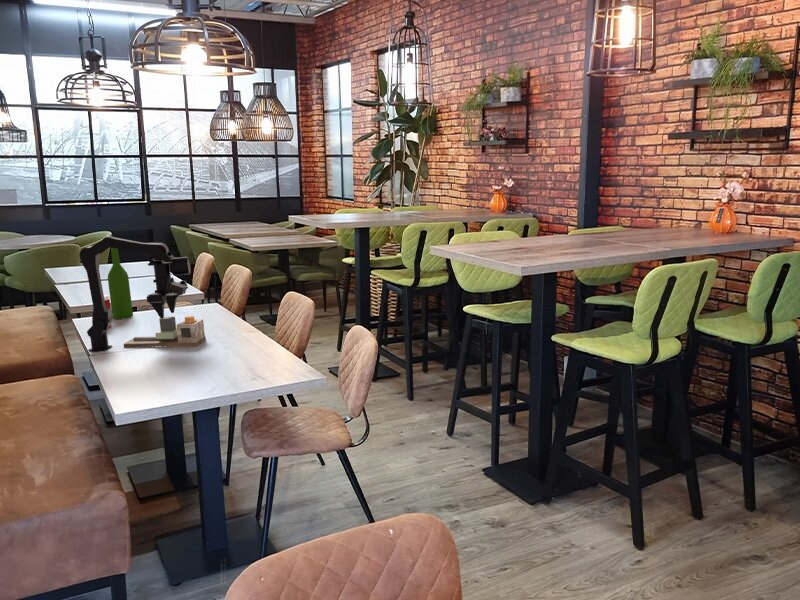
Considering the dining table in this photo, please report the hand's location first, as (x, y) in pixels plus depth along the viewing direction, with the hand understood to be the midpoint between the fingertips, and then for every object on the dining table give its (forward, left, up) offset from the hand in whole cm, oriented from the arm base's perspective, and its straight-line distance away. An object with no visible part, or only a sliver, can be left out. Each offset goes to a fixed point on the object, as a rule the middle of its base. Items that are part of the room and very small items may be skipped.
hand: (167, 315), depth 261 cm
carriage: (0, 0, -8) cm, 8 cm away
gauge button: (0, -9, -6) cm, 11 cm away
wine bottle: (+48, +45, -12) cm, 67 cm away
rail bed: (0, +2, -11) cm, 11 cm away
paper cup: (+28, +43, -12) cm, 53 cm away
